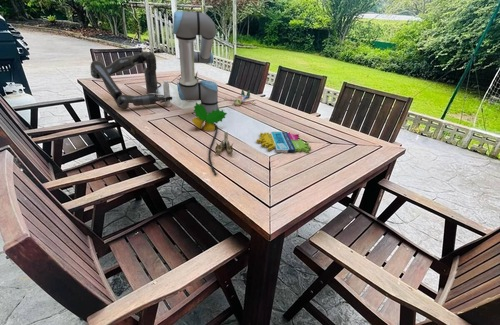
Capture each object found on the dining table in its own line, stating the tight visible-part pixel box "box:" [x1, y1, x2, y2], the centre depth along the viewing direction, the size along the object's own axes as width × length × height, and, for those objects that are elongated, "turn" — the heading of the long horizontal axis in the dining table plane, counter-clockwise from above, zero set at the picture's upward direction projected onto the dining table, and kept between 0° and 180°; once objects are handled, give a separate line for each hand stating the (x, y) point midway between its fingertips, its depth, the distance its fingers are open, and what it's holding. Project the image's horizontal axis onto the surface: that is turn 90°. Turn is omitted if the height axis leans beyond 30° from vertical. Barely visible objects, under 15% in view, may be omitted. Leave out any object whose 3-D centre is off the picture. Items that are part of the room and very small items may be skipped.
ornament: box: [191, 102, 228, 132], centre depth 162 cm, size 21×8×15 cm, turn 105°
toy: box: [223, 89, 257, 106], centre depth 219 cm, size 28×7×30 cm
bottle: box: [162, 80, 172, 107], centre depth 195 cm, size 4×4×18 cm
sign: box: [256, 131, 312, 154], centre depth 152 cm, size 26×2×30 cm
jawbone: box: [214, 131, 234, 156], centre depth 136 cm, size 9×15×10 cm
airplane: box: [177, 71, 204, 83], centre depth 255 cm, size 38×32×10 cm
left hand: (170, 97), depth 198 cm, fingers closed on bottle, 4 cm apart
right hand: (189, 98), depth 211 cm, fingers closed on lid, 4 cm apart
